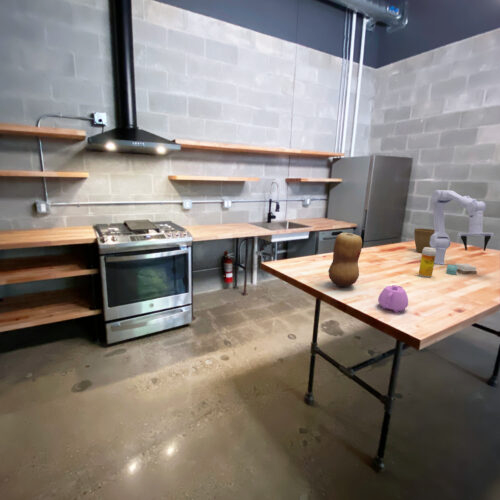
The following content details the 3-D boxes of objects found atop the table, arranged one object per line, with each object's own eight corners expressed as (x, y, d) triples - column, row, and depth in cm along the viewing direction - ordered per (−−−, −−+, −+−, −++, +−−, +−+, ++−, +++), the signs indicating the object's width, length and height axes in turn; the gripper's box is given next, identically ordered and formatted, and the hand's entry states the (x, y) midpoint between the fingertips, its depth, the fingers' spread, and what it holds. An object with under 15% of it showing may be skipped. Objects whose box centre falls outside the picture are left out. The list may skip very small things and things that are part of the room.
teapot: (372, 309, 115) (375, 286, 113) (385, 298, 126) (388, 277, 124) (400, 318, 108) (404, 294, 106) (412, 305, 119) (416, 283, 117)
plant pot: (439, 255, 202) (444, 232, 198) (417, 254, 202) (421, 231, 198) (427, 250, 216) (431, 228, 213) (407, 249, 216) (410, 227, 213)
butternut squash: (353, 293, 130) (359, 237, 124) (323, 287, 137) (328, 234, 131) (360, 284, 142) (366, 233, 136) (332, 278, 149) (337, 229, 143)
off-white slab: (463, 271, 162) (464, 267, 161) (454, 267, 168) (454, 263, 168) (475, 271, 162) (476, 267, 162) (465, 267, 169) (466, 263, 168)
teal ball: (446, 274, 161) (448, 266, 160) (445, 271, 165) (446, 264, 164) (456, 275, 159) (458, 267, 158) (455, 273, 163) (456, 265, 162)
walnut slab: (462, 275, 162) (462, 271, 161) (451, 270, 170) (452, 266, 169) (476, 275, 162) (476, 271, 162) (465, 270, 170) (465, 267, 169)
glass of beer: (427, 278, 153) (431, 250, 149) (416, 274, 158) (420, 247, 155) (434, 276, 156) (439, 249, 152) (423, 273, 161) (427, 246, 157)
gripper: (458, 224, 156) (457, 250, 157) (493, 223, 147) (493, 250, 148) (459, 225, 162) (458, 250, 162) (493, 224, 153) (492, 250, 153)
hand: (475, 250), depth 155 cm, fingers open, 7 cm apart
